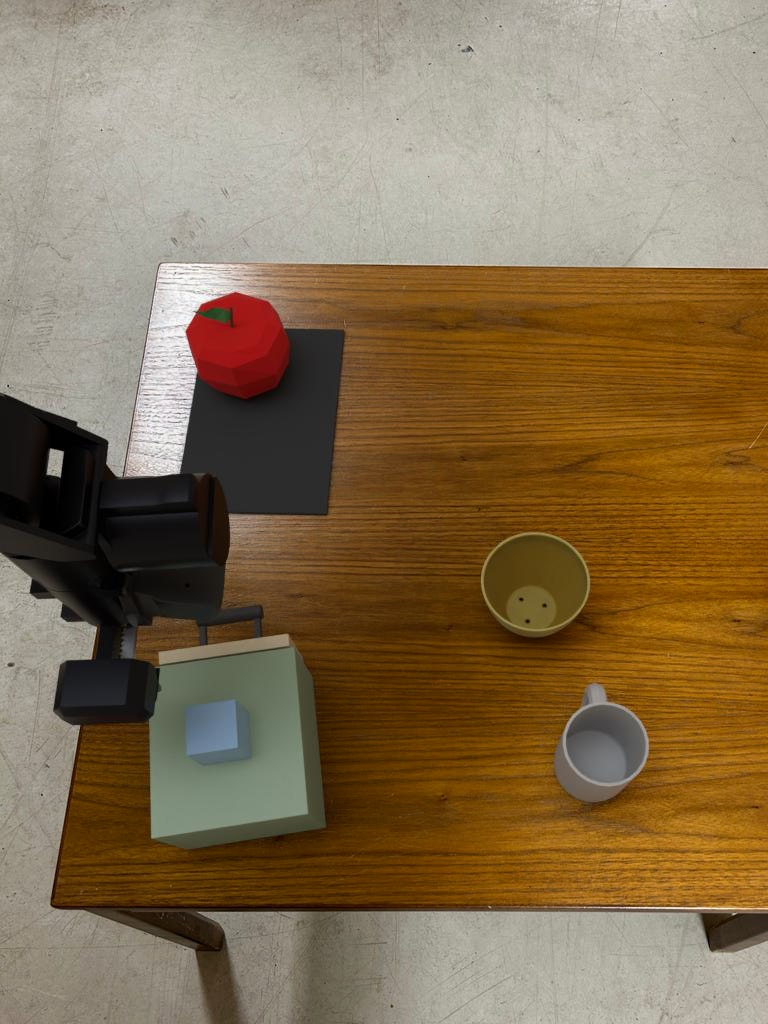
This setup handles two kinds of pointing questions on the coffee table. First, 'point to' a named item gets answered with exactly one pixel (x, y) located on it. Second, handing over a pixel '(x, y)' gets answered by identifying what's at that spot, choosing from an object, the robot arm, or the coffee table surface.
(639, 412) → the coffee table surface
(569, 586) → the flower pot
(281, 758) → the cabinet
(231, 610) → the drawer
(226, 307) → the apple
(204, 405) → the mat
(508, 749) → the coffee table surface
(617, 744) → the cup
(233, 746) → the block
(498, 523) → the coffee table surface
